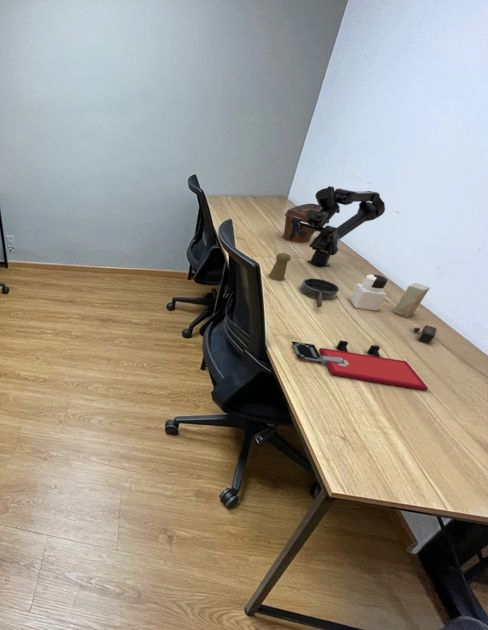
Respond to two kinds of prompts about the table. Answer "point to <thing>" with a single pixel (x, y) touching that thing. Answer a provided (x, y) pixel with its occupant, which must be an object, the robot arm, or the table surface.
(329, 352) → the red board with handle
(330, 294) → the pan
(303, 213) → the case
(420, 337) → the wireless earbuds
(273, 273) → the cork
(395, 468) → the table surface
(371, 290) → the medicine bottle
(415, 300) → the box
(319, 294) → the pan handle
